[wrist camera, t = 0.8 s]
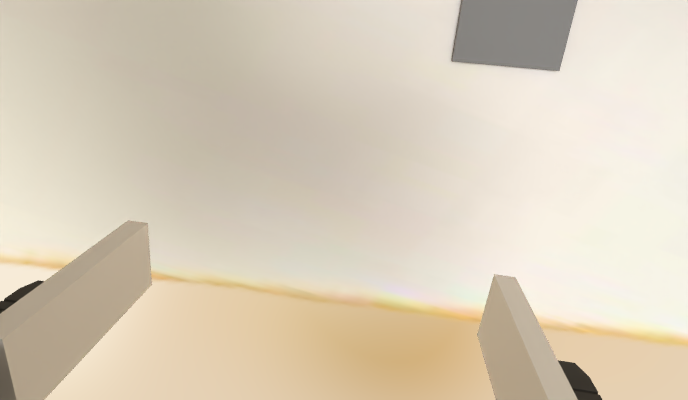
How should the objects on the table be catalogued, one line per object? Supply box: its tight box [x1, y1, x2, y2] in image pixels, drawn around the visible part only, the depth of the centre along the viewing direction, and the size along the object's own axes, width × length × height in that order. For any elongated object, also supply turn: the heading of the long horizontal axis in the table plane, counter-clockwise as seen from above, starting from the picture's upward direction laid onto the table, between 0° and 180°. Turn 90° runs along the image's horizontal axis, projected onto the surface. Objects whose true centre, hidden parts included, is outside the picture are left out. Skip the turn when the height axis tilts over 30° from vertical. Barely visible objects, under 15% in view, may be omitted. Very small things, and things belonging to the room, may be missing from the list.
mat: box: [452, 0, 578, 71], centre depth 35 cm, size 9×9×1 cm
